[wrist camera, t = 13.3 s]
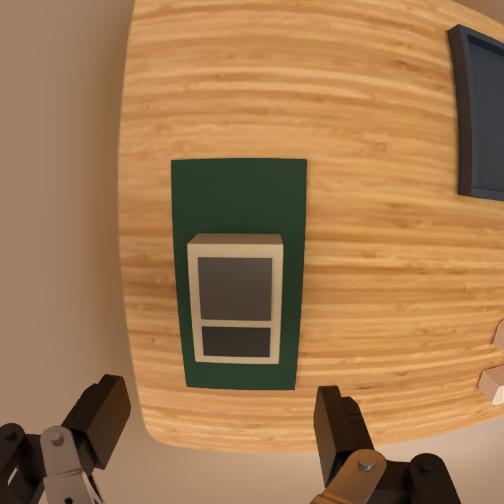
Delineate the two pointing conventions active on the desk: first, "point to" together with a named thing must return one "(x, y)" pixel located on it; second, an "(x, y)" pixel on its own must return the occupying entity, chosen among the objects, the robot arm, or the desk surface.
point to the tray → (479, 112)
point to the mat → (241, 222)
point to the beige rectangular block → (236, 297)
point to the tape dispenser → (494, 373)
